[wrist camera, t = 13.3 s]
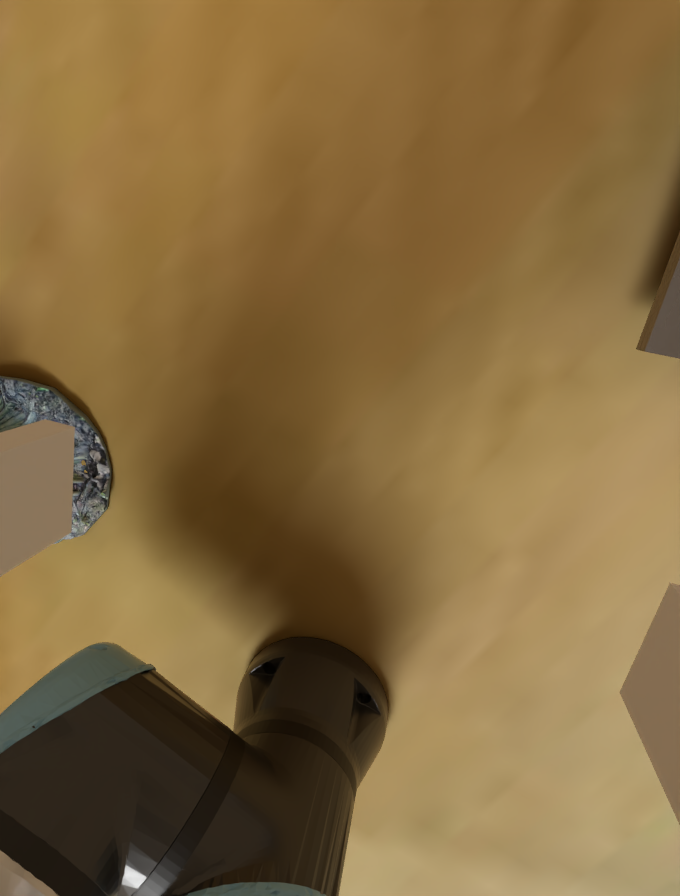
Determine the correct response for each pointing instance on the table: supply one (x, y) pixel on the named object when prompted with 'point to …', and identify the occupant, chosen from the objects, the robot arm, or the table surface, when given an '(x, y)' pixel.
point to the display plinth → (665, 312)
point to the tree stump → (29, 402)
